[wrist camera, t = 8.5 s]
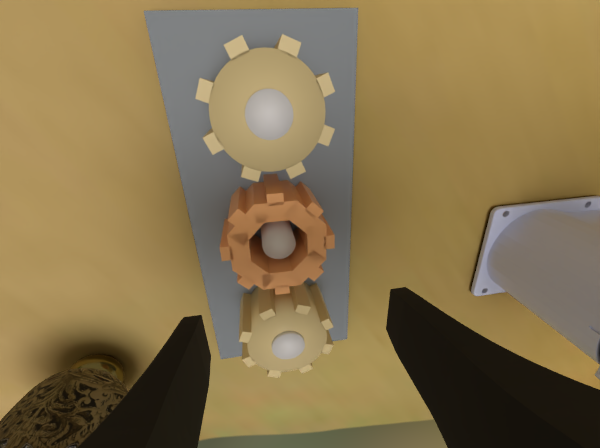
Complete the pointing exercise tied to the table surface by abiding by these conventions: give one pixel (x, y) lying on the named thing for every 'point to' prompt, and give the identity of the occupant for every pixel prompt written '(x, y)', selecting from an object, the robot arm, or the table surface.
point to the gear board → (223, 173)
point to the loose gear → (271, 208)
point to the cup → (65, 406)
